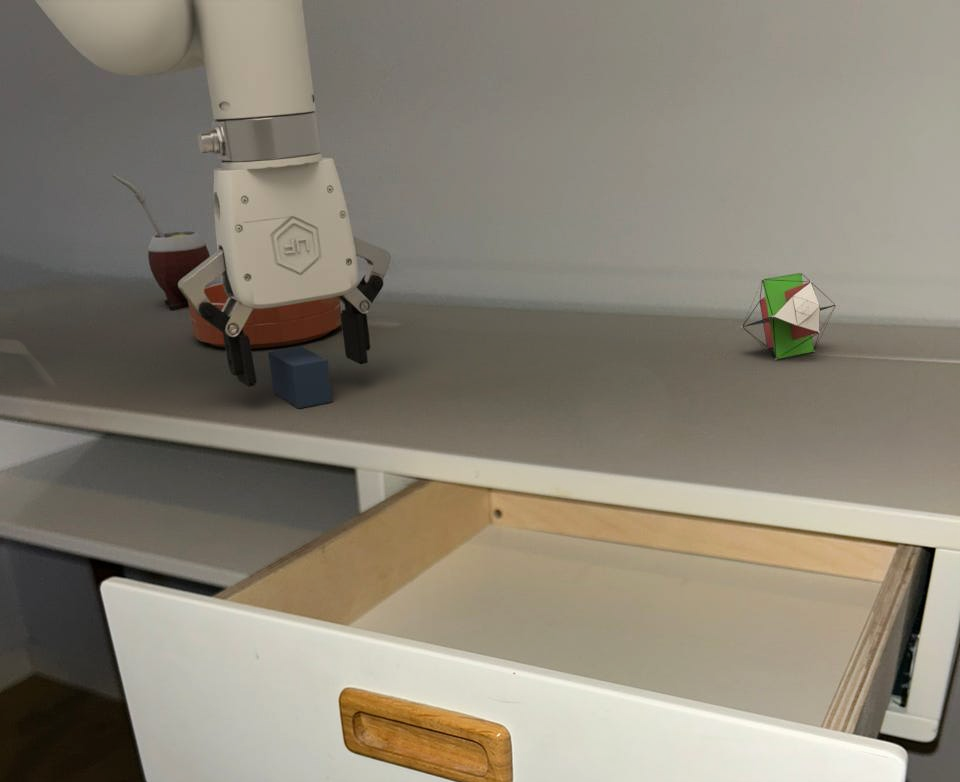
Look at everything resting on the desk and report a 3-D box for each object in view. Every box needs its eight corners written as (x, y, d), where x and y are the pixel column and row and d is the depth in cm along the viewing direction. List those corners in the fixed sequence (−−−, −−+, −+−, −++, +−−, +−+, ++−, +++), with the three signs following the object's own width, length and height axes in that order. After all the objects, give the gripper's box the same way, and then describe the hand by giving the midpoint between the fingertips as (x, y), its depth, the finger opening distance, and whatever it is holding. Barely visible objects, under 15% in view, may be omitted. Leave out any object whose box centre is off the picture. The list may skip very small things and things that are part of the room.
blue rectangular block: (298, 409, 86) (292, 365, 84) (273, 393, 91) (267, 351, 89) (332, 402, 87) (327, 359, 86) (307, 387, 92) (301, 346, 90)
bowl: (220, 359, 103) (212, 311, 101) (179, 332, 115) (171, 289, 112) (365, 334, 109) (360, 288, 107) (311, 311, 121) (306, 270, 119)
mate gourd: (228, 299, 130) (206, 165, 123) (188, 313, 124) (163, 172, 117) (179, 297, 133) (155, 167, 126) (137, 311, 127) (110, 174, 120)
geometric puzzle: (717, 323, 95) (756, 254, 88) (778, 312, 97) (821, 244, 90) (755, 386, 92) (799, 319, 85) (817, 372, 95) (865, 307, 88)
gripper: (167, 157, 73) (214, 401, 82) (395, 133, 80) (417, 361, 88) (142, 154, 79) (188, 382, 87) (356, 132, 86) (380, 345, 94)
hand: (303, 371), depth 88 cm, fingers open, 9 cm apart
